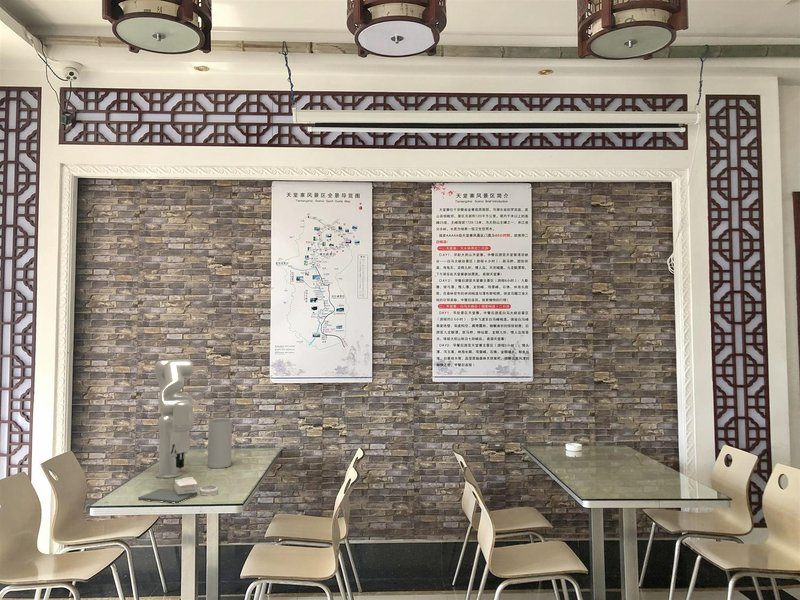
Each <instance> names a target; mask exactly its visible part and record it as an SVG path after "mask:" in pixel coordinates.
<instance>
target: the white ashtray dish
mask: <svg viewBox="0 0 800 600" xmlns="http://www.w3.org/2000/svg"><path fill="white" fill-rule="evenodd" d="M218 490H219V487H218V486H217V485H204V486H201V487H199V496H201V495H212V496H215V495H214V494H216V495H218Z"/></svg>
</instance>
